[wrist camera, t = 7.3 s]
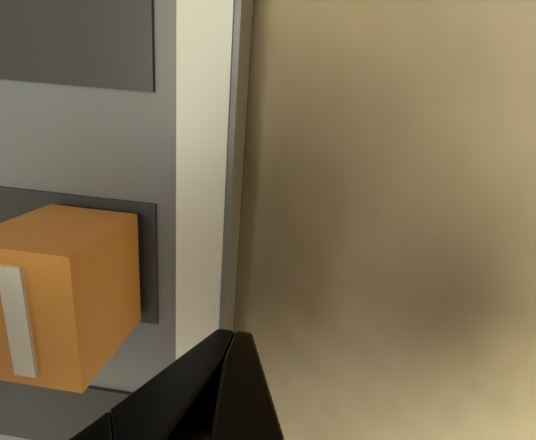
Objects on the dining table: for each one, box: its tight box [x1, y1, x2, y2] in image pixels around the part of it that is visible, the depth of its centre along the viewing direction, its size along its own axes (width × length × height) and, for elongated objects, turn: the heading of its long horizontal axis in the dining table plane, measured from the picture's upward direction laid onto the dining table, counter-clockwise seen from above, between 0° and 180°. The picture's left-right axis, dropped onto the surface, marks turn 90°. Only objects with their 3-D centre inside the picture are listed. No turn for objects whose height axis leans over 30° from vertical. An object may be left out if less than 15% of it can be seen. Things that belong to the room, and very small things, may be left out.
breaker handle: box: [0, 204, 141, 393], centre depth 11 cm, size 3×4×4 cm
